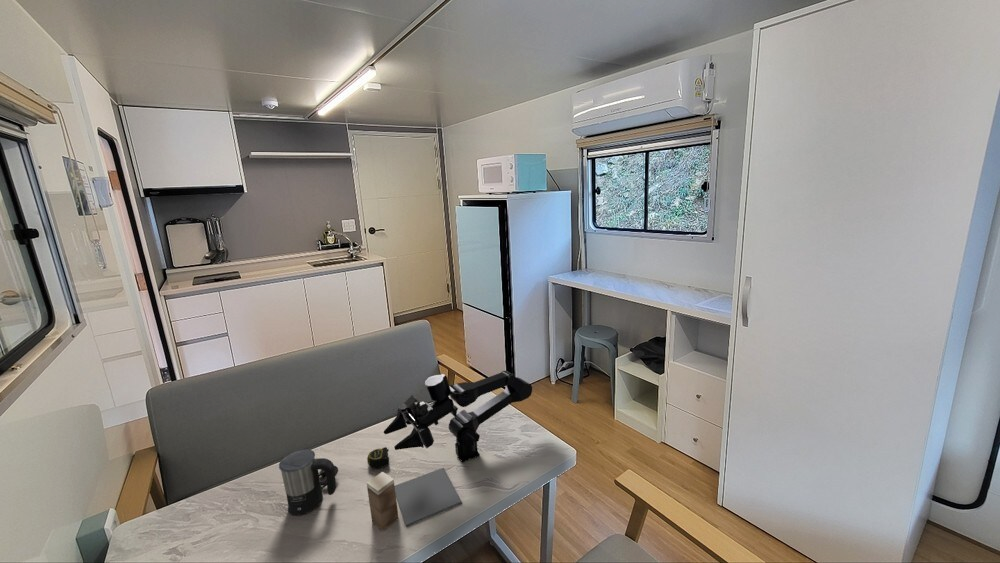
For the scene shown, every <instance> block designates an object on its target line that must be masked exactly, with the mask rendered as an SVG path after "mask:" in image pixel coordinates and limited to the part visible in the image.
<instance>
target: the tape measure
mask: <svg viewBox="0 0 1000 563" xmlns="http://www.w3.org/2000/svg"><path fill="white" fill-rule="evenodd" d="M366 459H367V465H368V466H369V467H370V468H371V469H380V468H382V467H385V466H388V465H389V464H390V459H389V448H388V447H386V446H384V447H382V448H376V449H373V450H371V451H370V452H369V453H368V455H367V458H366Z"/></svg>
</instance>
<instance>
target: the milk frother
mask: <svg viewBox="0 0 1000 563" xmlns="http://www.w3.org/2000/svg"><path fill="white" fill-rule="evenodd" d="M315 456H316V453H315V451H314V450H312V449H299V450H297V451H293V452H292V453H289V454H288V455H286V456H284V458H282V460H281V461H279V463H278V469H279V470H280V472H281V473H280V474H281V477H282V480H283V487H284V490H285V495H286V500H287V505H288V506H287V510H288V513H289V514H290V515H291V516H295V517H297V516H303V515H304V516H305V515H307V514H309V513H311V512H312V511H314V510H315V509H317V507H319V506H320V505H321V504H322V501H323V500H324V495H323V489H324V488H326V489H327V494H328V495H329V496H331V495H334V494H335V492H336V490H337V481H336V476H337V475H338V472H339V467H337V466H336V465H335V464H334V462H332V460H330V459H328V458H325V457H323V458H320V457H319V458H316V457H315ZM319 470H320V471H319ZM320 477H321V478H322V479H324V480H320V479H321V478H320Z"/></svg>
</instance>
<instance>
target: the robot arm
mask: <svg viewBox="0 0 1000 563" xmlns="http://www.w3.org/2000/svg"><path fill="white" fill-rule="evenodd" d="M448 381H449V380H448V377H447V374H445V373H442V374H435V375H431V376H429V377H427V379H426V380H425V381H424V385H425V388H426V389H427V390H426V391H427V392H428V395H429V398H430V401H432V402H431V403H428V402H425V401H424V400H423V401H419V400H418V398H417V397H415V396H414V395H413V394H411V395H410V396H409V397H408V398H407V399H406V400H405V402H402V403H401V404H399V405H398V409H397V413H396V417H395V418H394V419H393V420H392V422H391V423H390V424H389V425H388V426H387V427H386V428H385V429H384V431H383V433H384V435H388V434H391V433H394V432H396V431H397V432H398V431H400V430H402V429H406V428H408V425H409V426H410V425H412V426H413V428H412V430H411V432H410V434H408V435H407V436H405V437H404V438H402V440H400V441H399V442H397V444H395V445H394V447H393V448H394V450H395V451H398V450H404V449H413V448H422V449H423V448H424V447H425V448H426V449H429V448H430V447H432V446H433V444H434V442H435V439H434V437H433V435H432V432H431V429H430V428H429V427H430V426H433V425H434V426H437V425H439V421H440V420H441V419H443V418H444V417H446V416H447V415H449V414H451V415H452V416H453V417H452V418H451V419H450V420H449V423H448V430H449V433H451V434H452V435H453V436H454V437H455V439H456V440H455V441H456V442H455V443H454V446H455V454H456V456H457V458H459V460H460V462H461V463H464V462H467V461H470V460H472V459H475V458H479V457H480V456H481V455H480V453H479V451H478V442H479V441H480V437H481V436H480V435H481V434H479V433H478V432H477V431H478V429H479V426H480V425H481V424H483V423H484V422H485V421H487V420H489V419H490V418H491V417H493V416H494V415H496V414H497V413H499V412H500V411H502V410H503V409H505V408H506V407H507V406H510V405H511V404H513V403H517V402H518V403H519V402H523V401H524V400H527V399H529V397H531V396H532V393H533V386H532V384H531V383H529V382H527V381H526V380H524V379H522V378H521V377H518V376H514V374H513V373H511V372H509V371H508V370H502V371H501V372H500V373H497V374H493V375H491V376H489V377H486V378H483V379H480V380H477V381H474V382H468V381H465V382H459V383H458V382H457V383H455V384H449V382H448ZM504 387H505V389H504V390H503V391H502V392H500V393H499V394H497V395H495V396H494V397H492V398H490V399H489V400H488V401H486V402H485V403H483V404H482V405H480V406H479V407H477V408H476V409H474V410H472V411H471V412H468V411H466V410H465V409H463V410H461V411H460V412H458V410H459V408H458V407H457V406H456V404H457V405H458V406H460V407H461V408H466V407H468V406H470V405H471V404H473V403H475V402H476V401H477V399H479V398H480V396H481V397H482V396H484V395H486V394H489V393H491V392H493V391H495V390H496V391H497V390H498V389H501V388H504ZM454 402H455V403H456V404H455V403H454Z"/></svg>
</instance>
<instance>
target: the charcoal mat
mask: <svg viewBox="0 0 1000 563" xmlns="http://www.w3.org/2000/svg"><path fill="white" fill-rule="evenodd" d="M394 485H395V493H396V501H397V502H398V503H397V504H398V506H399V509H400V512H401V515H402V519H403V521H404V524H405V525H404V526H405V527H409V526H412V525H413V524H417V523H419V522H421V521H424V520H425V519H428V518H431V517H432V516H435V515H437V514H440V513H442V512H445V511H447V510H450V509H452V508H454V507H456V506H459V505H461V504H462V503H463V502H462V501H463V500H462V499H461V497H460V495H459V494H458V491H457V490H456V488H455V486H454V484H453V482H452V480H451V478H450V477H449V475H448V473H447V471H446V470H445V468H444V467H442V468H439V469H436V470H434V471H430V472H428V473H425V474H423V475H420V476H418V477H414V478H412V479H409V480H406V481H403V482H401V483H398V484H394Z"/></svg>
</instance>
